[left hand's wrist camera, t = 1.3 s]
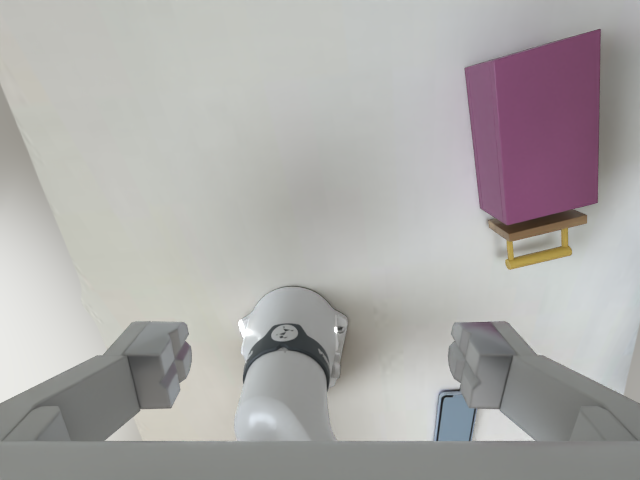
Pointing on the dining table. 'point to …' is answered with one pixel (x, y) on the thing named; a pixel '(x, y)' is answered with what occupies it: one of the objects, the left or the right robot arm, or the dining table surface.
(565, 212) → the drawer
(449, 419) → the smartphone
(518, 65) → the purple drawer cabinet
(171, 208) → the dining table surface
